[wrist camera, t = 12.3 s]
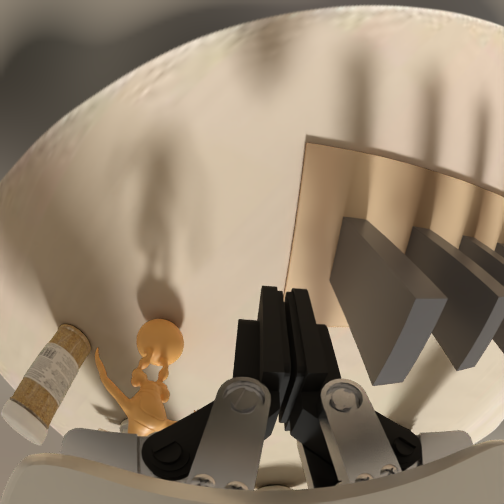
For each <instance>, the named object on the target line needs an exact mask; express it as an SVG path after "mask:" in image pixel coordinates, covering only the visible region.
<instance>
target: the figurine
mask: <svg viewBox="0 0 504 504" xmlns="http://www.w3.org/2000/svg"><path fill="white" fill-rule="evenodd" d="M183 347H184V340H183V336H182V334H181V332H180V330H179V329H178V327H177V326H176V325H174V324H173V323H172V322H170V321H168V320H165V319H153V320H150V321H148V322H146V323H145V324H144V325H143V326H142V327H141V328H140V330H139V332H138V334H137V348H138V351H139V353H140V354H141V356H142V357H143V358H142V359H141V360H140V361H139V365H138V367H137V368H136V369H134V370H133V372H132V379H131V384H132V385H133V386H134V387H137V386H140V390H139V391H138V392H137V393H136V395H135V396H134V397H132V398H131V399H129V398H128V397H126V396H125V395H124V394H123V393H122V392H121V391H120V390H119V388H118V387H117V386H116V385H115V384H114V383H113V382H112V381H111V380H110V379H109V378H108V377H107V373H106V371H105V368H104V365H103V363H102V362H101V360H100V358H99V354H98V351H99V350H98V348H97V349H96V352H95V361H96V366H97V369H98V371H99V374H100V379H101V381H102V383H103V384H104V386H105V387H106V389H107V390H108V391H109V393H110V394H111V395H112V396H113V397H114V398H115V399H116V401H117V402H118V404H119V405H120V407H121V408H122V409H123V411H124V412H125V413H126V415H127V417H128V433H131V434H137V435H138V436H147V435H149V434H151V433H153V432H157V431H160V430H162V429H164V428H166V427H168V426H170V425H172V424H174V423H176V422H178V421H171V420H168V419H167V416H166V412H165V408H164V405H163V403H165V402H167V401H168V400H169V396H170V393H169V391H168V389H167V386H166V385H165V384H164V383H162V382H163V381H164V380H165V379H167V377H168V374H169V372H168V365H170V364H172V363H174V362H175V361H176V360H177V359H178V358H179V357H180V355H181V354H182V351H183ZM150 363H151V364H153V365H157V366H163V368H162V369H161V370H160V371H159V374H158V380H157V381H156V382H154V381H149V380H148V379H147V375H146V374H145V373H144V372H143V371H142V370H143V369H145V368H146V367H148V365H149V364H150ZM194 412H196V411H195V410H194Z"/></svg>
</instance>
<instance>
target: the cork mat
mask: <svg viewBox="0 0 504 504" xmlns="http://www.w3.org/2000/svg"><path fill="white" fill-rule="evenodd" d="M343 216H344V217H351V218H359V219H366V220H368V221H369V222H370V223H371V224H372V225H373V226H374V227H376V228H377V229H378V230H379V231H380V232H381V233H382V234H383V235H385V236H386V237H387V238H388V239H389V240H390V241H391V242H392V243H393V244H394V245H395V246H396V247H398V248H399V249H400V250H401V251H402V252H403V253H404V254H405V252H406V249H407V246H408V242H409V239H410V235H411V231H412V227H413V226H415V227H421V228H427V229H430V230H432V231H433V232H435V233H436V234H438V235H439V236H441V237H442V238H443V239H445V240H446V241H447V242H449V243H450V244H452V245H453V246H454V247H456V248H457V249H459V246H460V243H461V239H462V236H463V235H465V236H470V237H474V238H476V239H477V240H479V241H480V242H482V243H483V244H485V245H486V246H488V247H489V248H491V249H492V250H493V251H495V248H496V245H497V242H498V243H502V244H504V197H502V196H500V195H498V194H495V193H493V192H491V191H488V190H486V189H483V188H481V187H478V186H476V185H473V184H470V183H468V182H465V181H462V180H459V179H456V178H453V177H451V176H448V175H445V174H442V173H438V172H435V171H432V170H429V169H425V168H422V167H419V166H415V165H412V164H408V163H404V162H400V161H397V160H393V159H389V158H384V157H380V156H376V155H372V154H367V153H362V152H358V151H353V150H347V149H342V148H337V147H331V146H325V145H319V144H313V143H306V145H305V154H304V162H303V171H302V178H301V186H300V194H299V201H298V208H297V215H296V222H295V229H294V236H293V243H292V249H291V255H290V262H289V268H288V274H287V280H286V286H285V292H284V297H283V300H285V295H286V292H291V290H292V288H300V289H307V290H308V293H309V297H310V300H311V304H312V308H313V312H314V316H315V320H316V324H325V325H326V326H327V327H349V325H348V323H347V320H346V318H345V315H344V313H343V311H342V308H341V306H340V304H339V302H338V299H337V297H336V295H335V292H334V290H333V288H332V286H331V283H330V281H329V279H330V275H331V271H332V267H333V262H334V258H335V253H336V249H337V244H338V239H339V235H340V230H341V225H342V219H343Z"/></svg>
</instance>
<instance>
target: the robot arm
mask: <svg viewBox="0 0 504 504" xmlns="http://www.w3.org/2000/svg"><path fill="white" fill-rule="evenodd" d="M278 414H279V423H284V426H285V431H290V435H291V436H293V437H294V438H295V439H297V447H298V451H299V455H300V458H301V462H302V466H303V470H304V474H305V478H306V481H307V485H308V489H302V490H281V491H255V490H254V487H255V482H256V477H257V473H258V468H259V463H260V458H261V453H262V447H263V442H264V440H265V439H266V438H268V437H269V436H270V435H271V433H272V431H273V428H274V425H275V422H276V419H277V417H278ZM119 429H120V432H121V433H118V432H109V431H106V430H103V429H98V430H91V429H84V428H74V429H72V430H70V431H68V432H67V433H66V434H65V435H64V438H63V441H62V447H61V454H55V453H53V454H52V453H40V454H33V455H29V456H27V457H26V458H24V459H23V460H22V461H21V462H20V463H19V464H18V465H17V467H16V468H15V469H14V471H13V473H12V475H11V476H10V478H9V480H8V482H7V484H6V487H5V489H4V492H3V494H2V497H1V500H0V504H504V440H490V441H485V442H482V443H479V444H475V445H473V443H472V440H471V437H470V436H469V435H468V433H466V432H464V431H460V430H457V431H446V432H429V433H420V434H419V435H415V434H414V433H412V432H411V431H409V430H407V429H405V428H404V427H402V426H400V425H398V424H397V423H395V422H393V421H392V420H390V419H388V418H386V417H385V416H383V415H381V414H380V413H378V412H376V411H375V410H374V408H373V406H372V404H371V402H370V400H369V398H368V396H367V394H366V392H365V391H364V389H363V388H362V387H361V386H360V385H359V384H358V383H356V382H354V381H352V380H348V379H341V376H340V372H339V368H338V364H337V360H336V357H335V353H334V349H333V346H332V342H331V338H330V335H329V331H328V328H327V326H326V325H325V324H316V320H315V316H314V312H313V308H312V304H311V300H310V297H309V293H308V290H307V289H300V288H292V290H291V292H286V295H285V300H283V292H282V291H277V287H272V286H262V288H261V296H260V304H259V312H258V319H257V321H256V320H243V319H239V320H238V330H237V340H236V350H235V360H234V370H233V378H232V379H230V380H227V381H226V382H225V383H223V384H222V385H221V387H220V388H219V390H218V392H217V395H216V398H215V400H214V401H213V402H211V403H209V404H208V405H206V406H204V407H203V408H201V409H199V410H197V411H196V412H194V413H192V414H190V415H189V416H187V417H185V418H183V419H181V420H179V421H178V422H176V423H174V424H172V425H170V426H168V427H166V428H164V429H162V430H160V431H157V432H153V433H151V434H149V435H147V436H138V435H137V434H131V433H128V419H126V420H124V421H122V423H121V425H120V428H119Z"/></svg>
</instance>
